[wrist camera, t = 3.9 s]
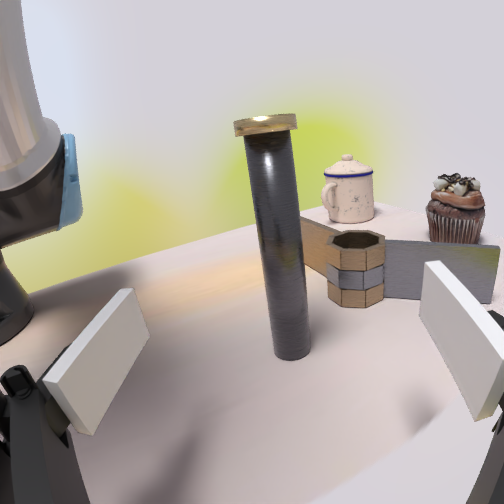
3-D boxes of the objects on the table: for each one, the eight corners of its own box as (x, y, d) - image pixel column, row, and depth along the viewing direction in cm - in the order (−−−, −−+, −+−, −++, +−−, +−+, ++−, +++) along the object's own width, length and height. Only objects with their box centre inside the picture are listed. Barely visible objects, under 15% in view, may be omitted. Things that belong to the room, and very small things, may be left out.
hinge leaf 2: (322, 304, 31) (320, 249, 29) (336, 278, 36) (334, 229, 34) (494, 317, 23) (506, 259, 21) (485, 287, 27) (493, 236, 25)
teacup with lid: (347, 208, 63) (342, 152, 59) (384, 214, 56) (381, 153, 52) (306, 223, 57) (300, 159, 53) (345, 232, 50) (340, 160, 46)
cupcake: (490, 239, 38) (494, 175, 34) (467, 259, 34) (472, 183, 31) (443, 226, 46) (443, 167, 43) (413, 241, 42) (413, 173, 39)
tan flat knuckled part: (271, 257, 44) (266, 216, 42) (307, 247, 46) (303, 207, 44) (351, 313, 29) (351, 256, 27) (394, 293, 30) (396, 240, 28)
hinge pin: (260, 344, 27) (225, 123, 20) (301, 329, 28) (277, 117, 21) (281, 371, 23) (246, 117, 17) (325, 352, 24) (307, 112, 18)
